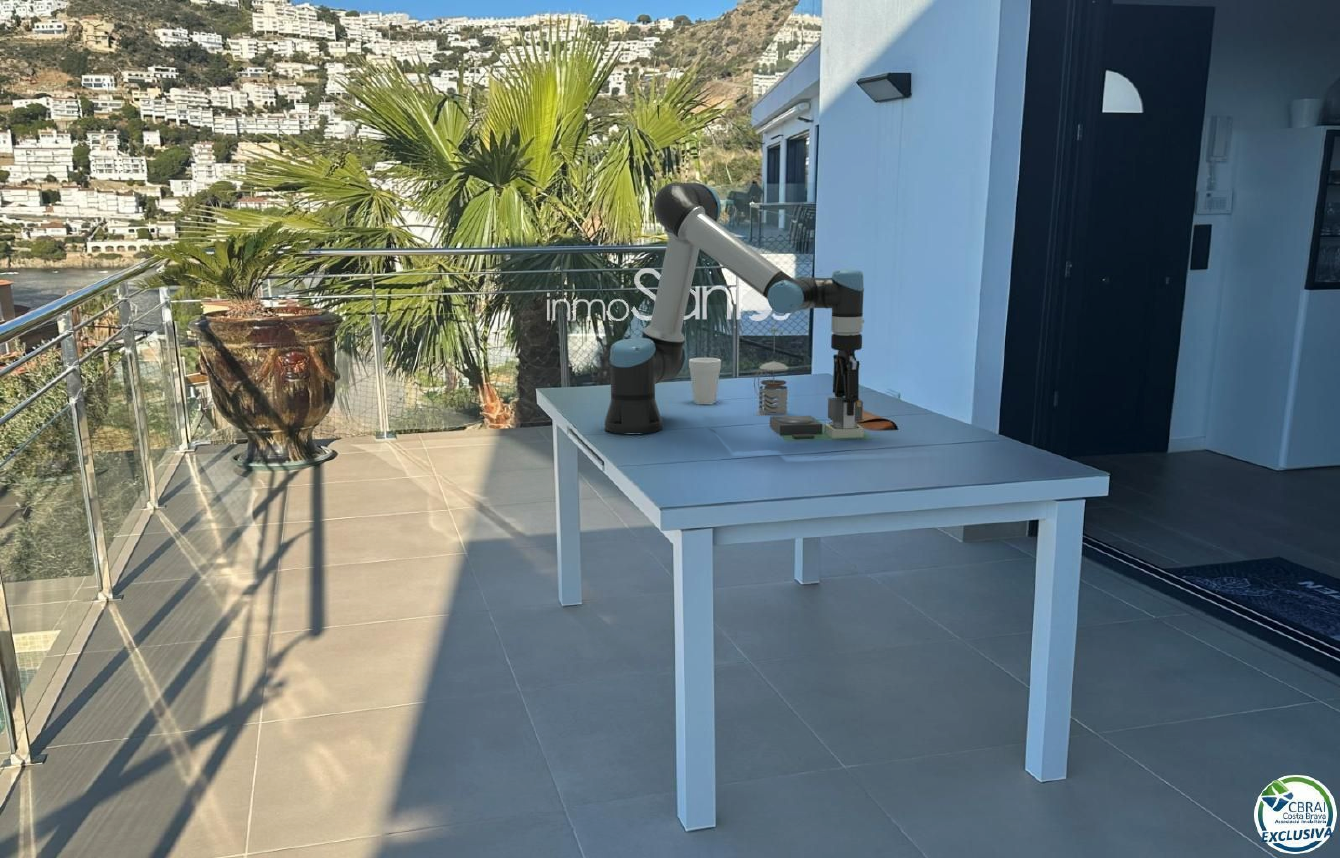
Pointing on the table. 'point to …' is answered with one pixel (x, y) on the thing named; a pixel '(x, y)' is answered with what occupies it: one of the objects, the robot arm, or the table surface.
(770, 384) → the french press
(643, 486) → the table surface
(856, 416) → the plug
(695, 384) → the foam cup
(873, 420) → the sunglasses case
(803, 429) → the fan
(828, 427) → the frame
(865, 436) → the board
